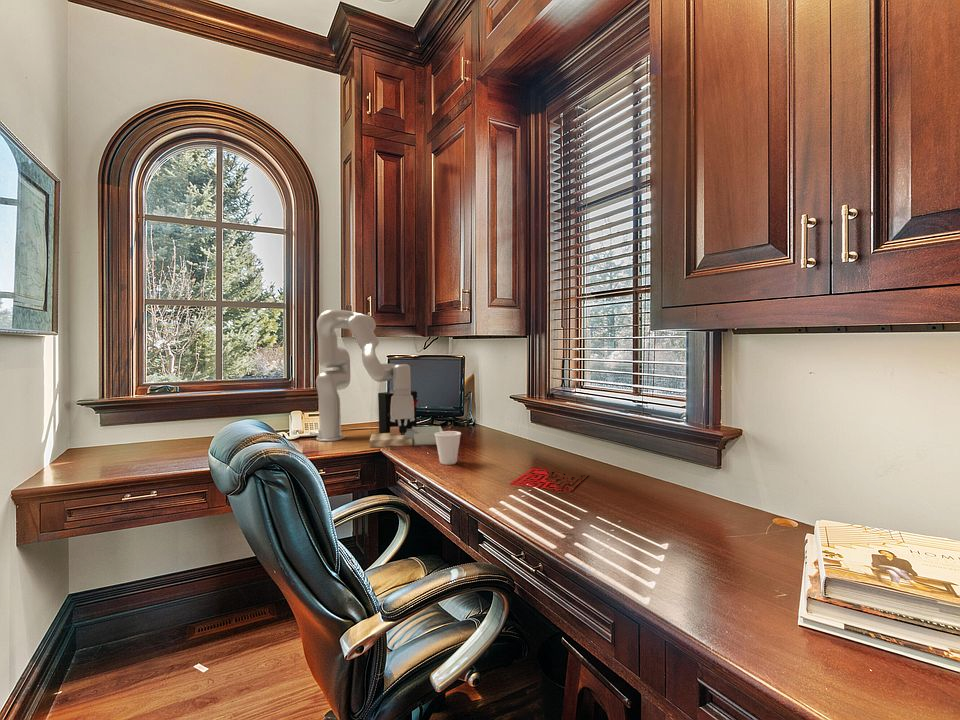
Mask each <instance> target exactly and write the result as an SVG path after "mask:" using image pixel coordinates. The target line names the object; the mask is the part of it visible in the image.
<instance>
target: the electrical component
mask: <svg viewBox="0 0 960 720" xmlns="http://www.w3.org/2000/svg"><path fill="white" fill-rule="evenodd" d="M411 395H412V396H413V401H414V418H415V420H414V421H411V422H409V423H408V424H407V425H406V431H407V429H412V427H418V423H417V422H418V421H417V416H418V415H417V412H418V411H417V404H418V401H419V399H417V398H418V392H417V390H412V389H411ZM377 396H378V397H377V399H378V401H377V402H378V434H379V433H390V427H399V425H398V424H397V423H396V422H391V421H390V418H391V414H390V410H391V397H392V396H393V394H392V393H390V391H386V392H385V391H384V392H378V393H377ZM397 420H398V419H397ZM401 424H402V426H403V424H404V419H401Z"/></svg>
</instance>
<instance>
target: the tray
mask: <svg viewBox="0 0 960 720" xmlns="http://www.w3.org/2000/svg"><path fill="white" fill-rule="evenodd" d="M412 429H417V430H418V434H414V438H412V443H413V446H416V447H417V446H433V445H435V446H437V443H436V438H435V435H434V434H435V433H437V432H441V431H444V430H443V428H442V426H441V425H437V426H434V425H433V426H417V427H412Z"/></svg>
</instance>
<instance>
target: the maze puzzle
mask: <svg viewBox="0 0 960 720" xmlns="http://www.w3.org/2000/svg"><path fill="white" fill-rule="evenodd" d="M532 470H533V471H532ZM538 470H544V471H538ZM545 470H546V469H542V468H531V469H529V470H527V471H526V472H525V473H523V474H522V475H520V476H519V477H517V478H515V479H514V480H513V481H511V482H510V483H509V485H510V486H511V485H514V486H520V487H526V486H528V487H529V488H534V487H539V486H540V487H539V488H540V489H542V488H546V489H545V490H550V489H555V490H554V491H557V490H562V489H557V488H558V487H557V486H556V484H554V485H555V486H554V485H553V484H550V483H553V482H549V481H551V479H550V480H549V481H548V478H547V477H548V476H549V475H548V474H547V471H545ZM531 471H532V472H531ZM528 473H529V474H528ZM532 473H535V474H532ZM527 474H528V475H527ZM538 474H544V475H538ZM525 475H526V476H525ZM533 475H538V476H537V477H536V476H533ZM547 475H548V476H547ZM542 476H543V477H542ZM522 477H523V478H522ZM535 477H536V478H535ZM541 477H542V478H541ZM527 478H528V479H527ZM540 478H541V479H540ZM546 478H547V479H546ZM530 479H534V480H530ZM538 479H539V480H538ZM545 479H546V480H545ZM532 481H536V482H532ZM552 481H554V479H552ZM525 482H527V483H525ZM540 482H544V483H540ZM533 483H537V484H533ZM526 484H528V485H526ZM542 484H543V485H542ZM548 484H549V485H548ZM547 485H548V486H547ZM552 485H553V486H552ZM546 486H547V487H546ZM549 487H557V488H549ZM564 490H565V489H564ZM568 490H569V491H570V489H568ZM565 491H566V490H565ZM565 491H564V492H565Z"/></svg>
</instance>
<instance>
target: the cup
mask: <svg viewBox="0 0 960 720" xmlns="http://www.w3.org/2000/svg"><path fill="white" fill-rule="evenodd" d="M434 435H435V438H436V443H437V445H436V448H437V453H438V460H439V463H440V464H441V465H444V466H445V465H446V466H448V465H449V466H450V465H455V464H456V463H457V462H458V454H459V448H460V441H461V435H462V433H461V431H456V430H455V431H454V430H443V431H441V432H437V433H435V434H434Z"/></svg>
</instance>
